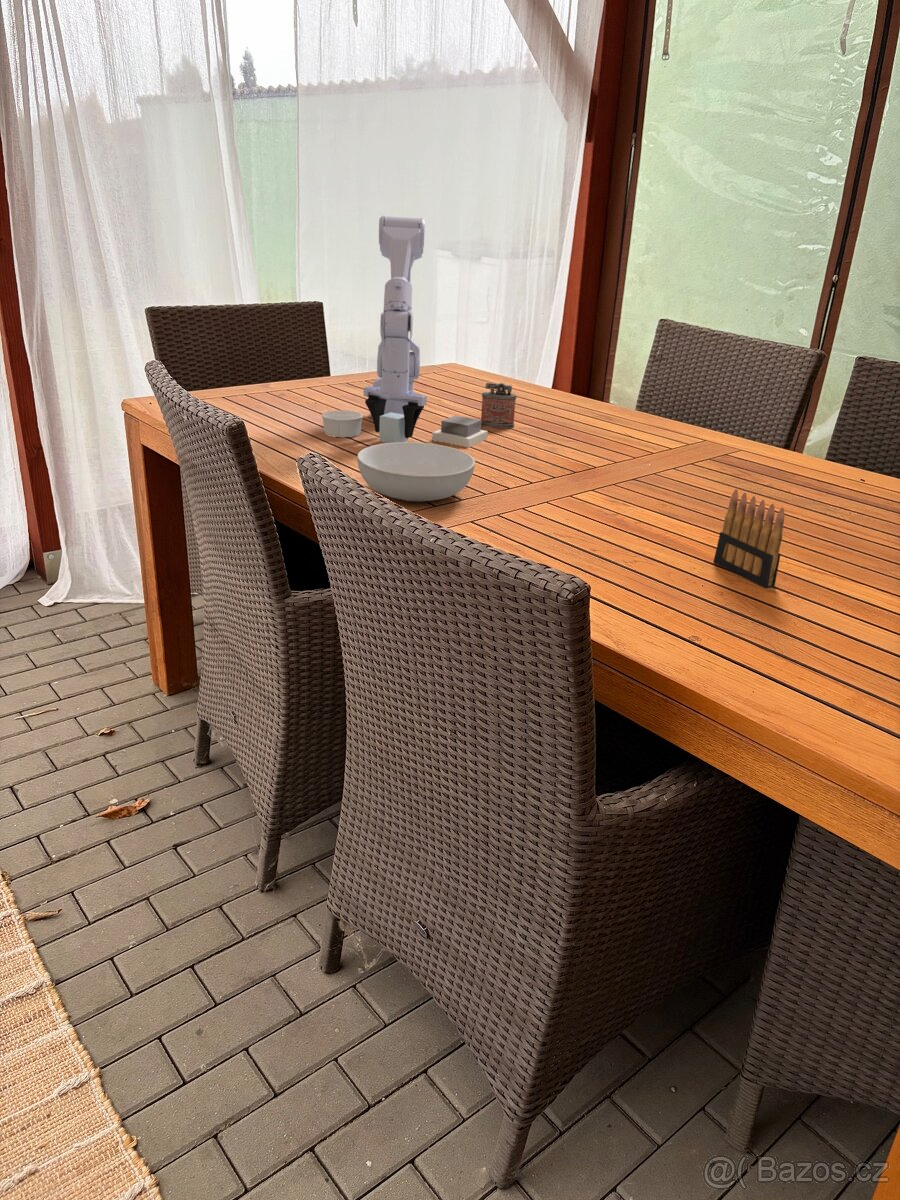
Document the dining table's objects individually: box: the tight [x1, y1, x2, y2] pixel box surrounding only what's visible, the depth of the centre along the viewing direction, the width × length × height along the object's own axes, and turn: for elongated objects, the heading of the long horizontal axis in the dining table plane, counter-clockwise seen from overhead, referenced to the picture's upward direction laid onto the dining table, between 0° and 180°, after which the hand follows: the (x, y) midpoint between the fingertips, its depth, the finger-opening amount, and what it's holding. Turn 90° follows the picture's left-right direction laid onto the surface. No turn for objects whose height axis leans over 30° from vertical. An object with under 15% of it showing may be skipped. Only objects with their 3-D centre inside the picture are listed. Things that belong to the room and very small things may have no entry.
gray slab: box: [440, 415, 482, 437], centre depth 195 cm, size 6×6×2 cm
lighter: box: [480, 382, 518, 429], centre depth 207 cm, size 8×3×10 cm, turn 84°
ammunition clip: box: [713, 489, 785, 589], centre depth 131 cm, size 11×2×12 cm, turn 29°
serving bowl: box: [356, 441, 476, 503], centre depth 159 cm, size 21×21×7 cm
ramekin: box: [321, 409, 363, 438], centre depth 195 cm, size 9×9×4 cm
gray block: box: [378, 412, 409, 443], centre depth 191 cm, size 4×4×6 cm
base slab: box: [431, 428, 488, 449], centre depth 196 cm, size 9×9×2 cm
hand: (393, 434), depth 192 cm, fingers open, 7 cm apart
